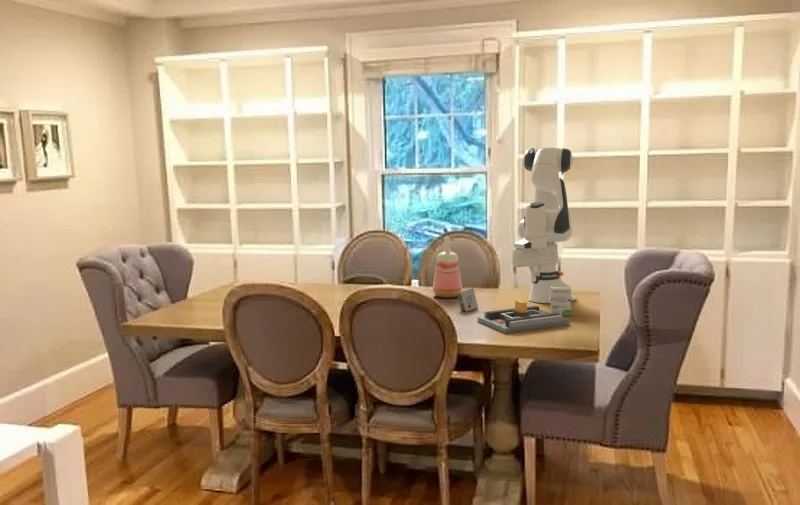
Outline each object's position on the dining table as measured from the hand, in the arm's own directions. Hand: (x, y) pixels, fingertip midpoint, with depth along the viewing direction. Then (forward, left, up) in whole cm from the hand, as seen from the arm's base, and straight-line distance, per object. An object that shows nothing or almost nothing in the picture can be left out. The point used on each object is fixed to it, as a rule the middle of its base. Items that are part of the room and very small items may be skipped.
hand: (535, 276), depth 272 cm
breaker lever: (+7, 0, -17) cm, 18 cm away
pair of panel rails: (+6, 0, -17) cm, 18 cm away
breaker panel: (+6, 0, -19) cm, 20 cm away
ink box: (-17, -6, -19) cm, 26 cm away
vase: (+9, -63, -19) cm, 66 cm away
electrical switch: (+14, -33, -19) cm, 41 cm away
